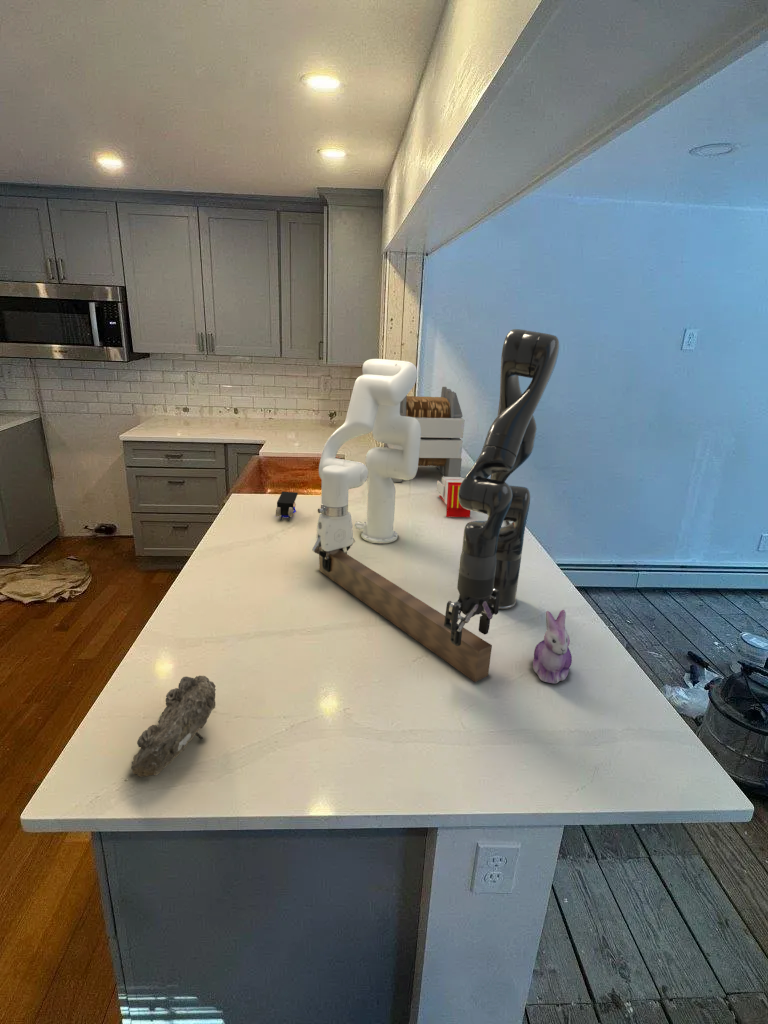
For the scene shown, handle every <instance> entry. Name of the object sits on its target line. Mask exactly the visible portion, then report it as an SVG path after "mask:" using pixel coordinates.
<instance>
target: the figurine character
mask: <svg viewBox="0 0 768 1024" xmlns="http://www.w3.org/2000/svg"><path fill="white" fill-rule="evenodd" d="M298 494H299V493H298V492H293V491H281V493H280V495H279V497H278V500H277V501H276V508H275V517H279V520H280V521H283V518H284V519H286V518H287V521H288V522H289V521H290V520H291V517H294V514H295V513H297V509H296V505H297V504H296V500H297V497H298Z"/></svg>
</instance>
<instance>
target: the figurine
mask: <svg viewBox="0 0 768 1024" xmlns="http://www.w3.org/2000/svg"><path fill="white" fill-rule="evenodd" d="M566 615H567V613H566V610H565V609H561V610H560V611H559V612H558V615H557V617H556V619H555V618H554V616H553V614H552V613H551V611H549V610H546V611H545V624H546V631H545V633H544V635H543V640H541V641H539V642H538V643H537V644H536V646H535V648H534V652H533V660H532V669H533V672H534V673H535V674H536V675H537V676H538V679H539V680H540V681H542V682H545V683H549V684H558V683H559V682H563V681H565V680H566V679H567V677H568V675H569V673H570V668H571V666H572V664H573V656H572V653H571V650H570V648H569V646H570V644H571V639H570V638H571V637H570V635H569V633H568V630H567V629H566V617H567V616H566Z"/></svg>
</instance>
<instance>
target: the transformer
mask: <svg viewBox="0 0 768 1024" xmlns="http://www.w3.org/2000/svg"><path fill="white" fill-rule="evenodd" d="M440 393H441V394H440V396H415V395H414V396H413V395H412V396H411V395H408V394H407V395H406V396H405V398H404V399H403V400H402V401H401V402H400V415H401V416H407V417H413V418H415V419H417V420H418V421H419V423H420V427H421V439H420V450H419V461H418V467H436V468H437V470H438V469H439V473H440V474H441V475H443V476H442V477H461V472H462V461H463V460H462V453H463V442H464V441H463V440H462V439H463V438H464V431H465V430H464V429H465V419H464V418H463V411H462V408H461V405H460V402H459V398H458V395H457V392H455V391H453V390H452V389H451V388H447V386H442V387H441V392H440ZM383 447H386V448H394V449H399V450H403V447H402V446H399V445H392V444H385V443H383ZM391 479H392V481H393V483H402V482H403V479H396V478H391Z"/></svg>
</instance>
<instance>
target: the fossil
mask: <svg viewBox="0 0 768 1024" xmlns="http://www.w3.org/2000/svg"><path fill="white" fill-rule="evenodd" d="M216 686H217V685H215V682H213V681H211V680H210V679H209V678H208V677H207V676H206V675H196V676H195V677H191V676H183V677H182V678H180V681H179V683H178V687H175V688H171V689H170V690H169V691H168V692H167V693H166V695H165V706H166V707H165V708H164V709H163V711H162V712H161V715H160V716H159V718H158V721H157V723H158V724H157V725H156V724H151V725H150V726H148V728H147V729H145V730H144V731H142V733H141V735H140V736H139V737H138V739H137V742H136V744H137V746H138V748H139V750H138V751H137V753H136V754H134V755H133V761H132V762H131V766H130V768H131V770H132V774H134V775H137V776H139V777H141V778H142V777H147V776H158V775H159V774H161V772H163V770H164V769H165V768H166V767H167V766H169V765H170V764H171V763H172V762H173V761H174V760H175V759H176V758H177V757H178V756H179V755H180V754H181V753H182V752H183V751H185V748H187V746H188V743H190V742H191V741H192V740H193V738H195V736H196V737H197V738H198V739H199V740H200V741H202V740H204V737H203V735H201V734H200V733H199V732H198V731H199V729H203V728H204V726H205V725H206V723H207V722H208V719H209V717H210V715H211V714H212V711H213V710H214V709H215V708H216V690H217V689H216Z"/></svg>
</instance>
